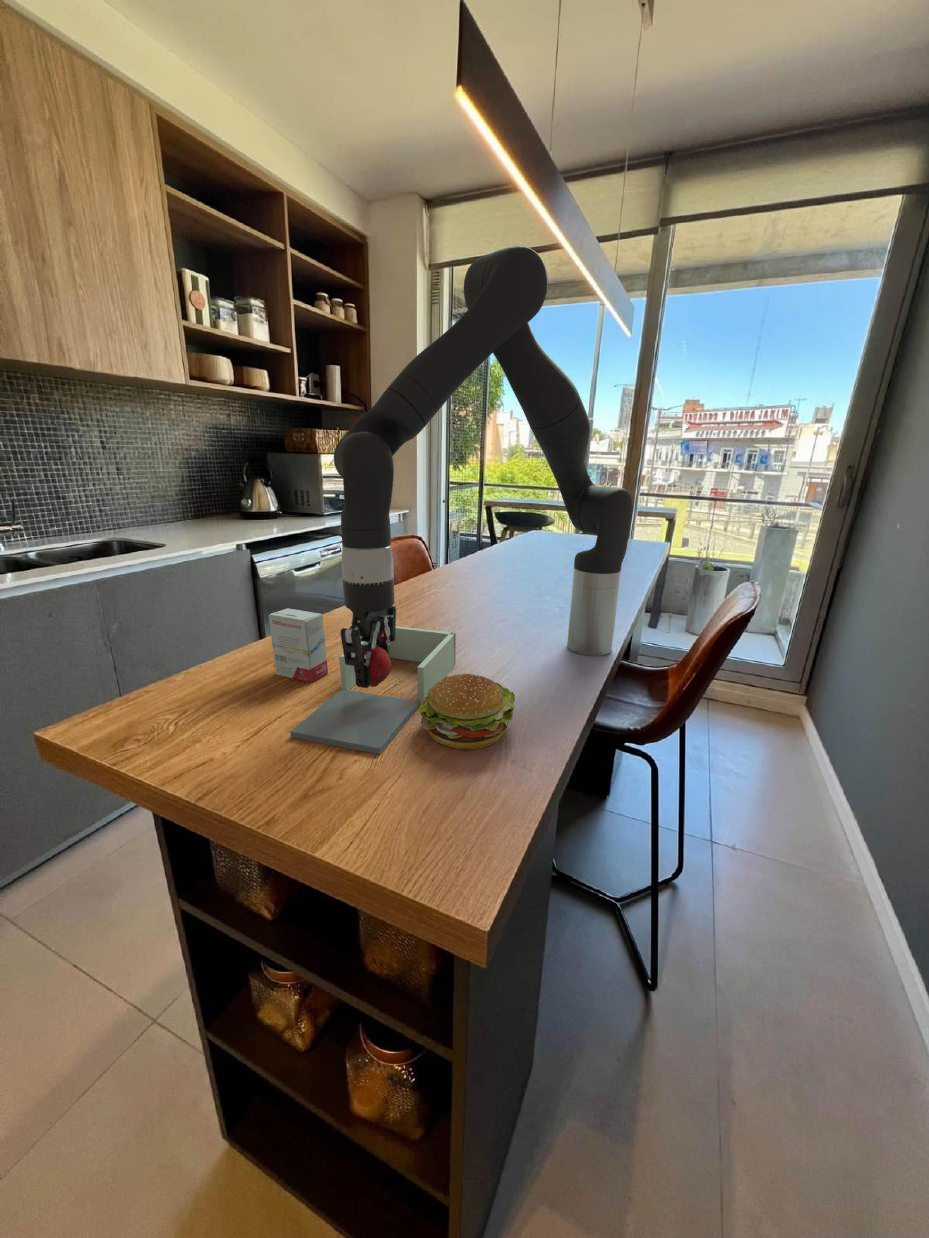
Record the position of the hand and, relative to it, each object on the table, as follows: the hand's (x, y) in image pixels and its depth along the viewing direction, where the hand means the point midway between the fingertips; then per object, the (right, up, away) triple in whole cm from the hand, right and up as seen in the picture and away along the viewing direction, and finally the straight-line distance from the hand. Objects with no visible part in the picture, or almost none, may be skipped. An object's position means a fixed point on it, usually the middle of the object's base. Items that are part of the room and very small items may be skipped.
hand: (373, 677), depth 78 cm
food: (+15, -7, -6) cm, 18 cm away
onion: (0, -2, +1) cm, 2 cm away
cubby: (+3, -1, +11) cm, 11 cm away
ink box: (-15, -1, +12) cm, 19 cm away
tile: (-1, -6, -4) cm, 7 cm away
